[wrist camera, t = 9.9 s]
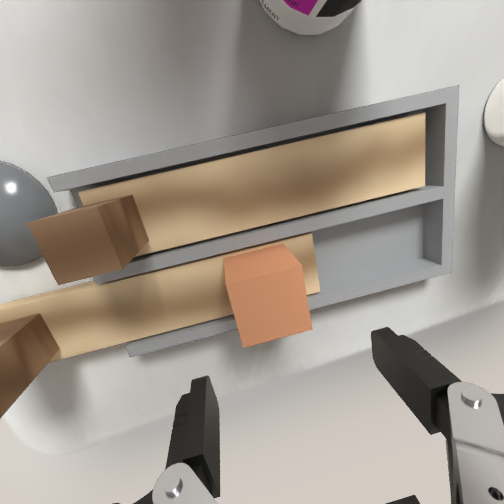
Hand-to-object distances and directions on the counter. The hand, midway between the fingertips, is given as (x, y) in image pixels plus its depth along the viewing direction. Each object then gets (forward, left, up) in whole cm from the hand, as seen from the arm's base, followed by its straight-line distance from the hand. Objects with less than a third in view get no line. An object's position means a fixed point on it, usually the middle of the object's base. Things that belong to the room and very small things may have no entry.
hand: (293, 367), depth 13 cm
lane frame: (-4, +2, -12) cm, 13 cm away
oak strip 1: (-7, +2, -12) cm, 14 cm away
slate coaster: (-10, -18, -12) cm, 24 cm away
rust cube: (0, 0, -10) cm, 10 cm away
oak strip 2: (0, -8, -12) cm, 15 cm away
